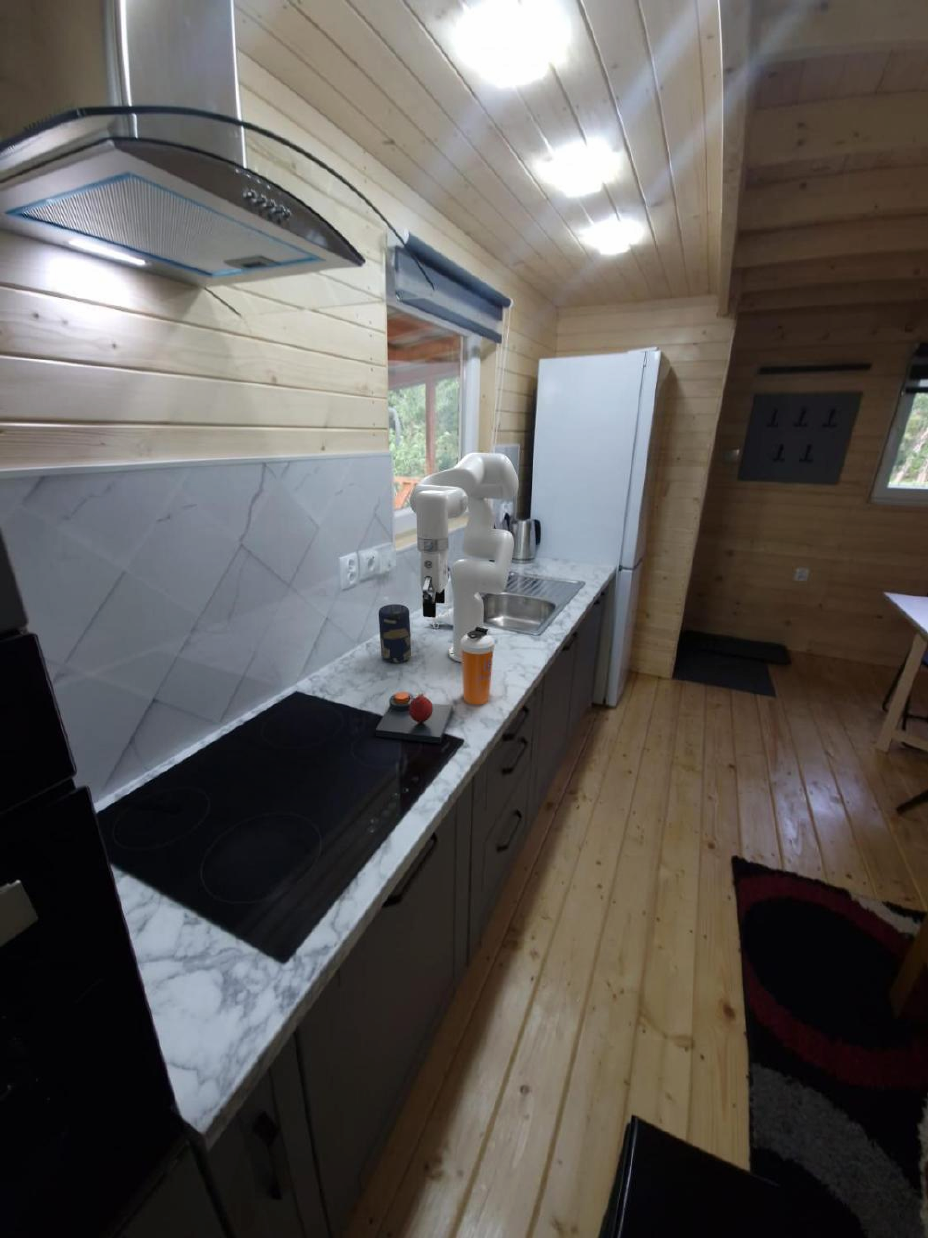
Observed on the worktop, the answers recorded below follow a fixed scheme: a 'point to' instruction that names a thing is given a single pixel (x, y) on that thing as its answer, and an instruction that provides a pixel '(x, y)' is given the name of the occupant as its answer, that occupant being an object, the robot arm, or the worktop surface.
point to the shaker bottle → (477, 665)
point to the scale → (414, 723)
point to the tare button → (401, 697)
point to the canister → (395, 633)
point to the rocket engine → (442, 618)
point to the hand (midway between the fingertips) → (434, 609)
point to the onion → (420, 708)
